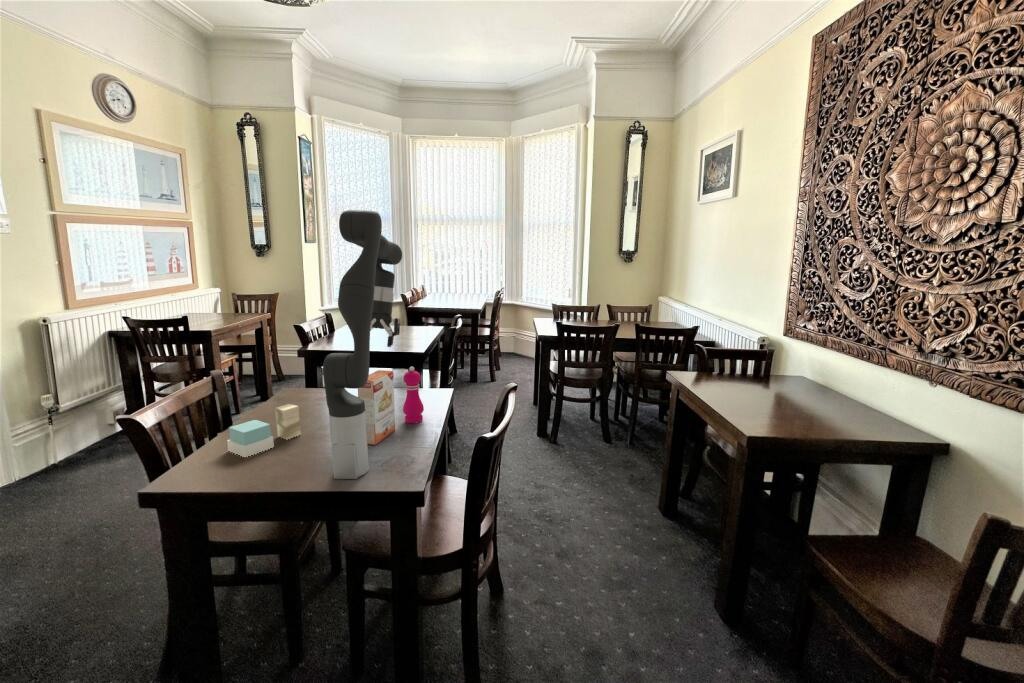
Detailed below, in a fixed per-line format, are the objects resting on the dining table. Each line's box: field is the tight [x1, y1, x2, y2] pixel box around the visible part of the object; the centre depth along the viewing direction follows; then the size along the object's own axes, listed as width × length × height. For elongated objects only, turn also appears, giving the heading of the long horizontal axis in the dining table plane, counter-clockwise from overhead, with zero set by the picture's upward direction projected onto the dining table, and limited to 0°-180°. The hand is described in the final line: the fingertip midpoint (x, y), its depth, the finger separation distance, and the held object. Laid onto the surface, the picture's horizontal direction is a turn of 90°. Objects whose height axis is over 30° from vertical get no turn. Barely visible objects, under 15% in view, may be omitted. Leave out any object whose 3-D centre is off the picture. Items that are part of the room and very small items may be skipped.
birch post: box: [274, 403, 302, 441], centre depth 153 cm, size 5×5×10 cm
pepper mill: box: [402, 366, 425, 424], centre depth 166 cm, size 7×7×20 cm
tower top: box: [228, 419, 272, 445], centre depth 143 cm, size 8×8×4 cm
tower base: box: [226, 435, 275, 458], centre depth 143 cm, size 9×9×4 cm
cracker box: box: [357, 369, 396, 446], centre depth 152 cm, size 14×6×21 cm, turn 168°
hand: (377, 345), depth 167 cm, fingers open, 8 cm apart
